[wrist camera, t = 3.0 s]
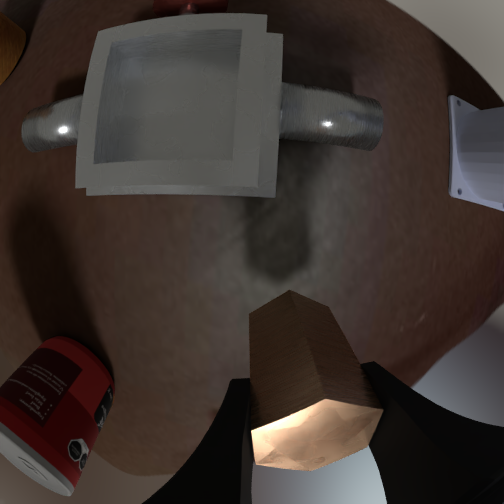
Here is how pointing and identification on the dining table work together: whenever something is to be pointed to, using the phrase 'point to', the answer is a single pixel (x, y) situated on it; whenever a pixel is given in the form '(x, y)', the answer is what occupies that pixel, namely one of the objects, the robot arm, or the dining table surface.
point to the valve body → (193, 107)
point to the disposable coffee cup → (9, 45)
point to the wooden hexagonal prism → (306, 387)
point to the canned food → (54, 412)
